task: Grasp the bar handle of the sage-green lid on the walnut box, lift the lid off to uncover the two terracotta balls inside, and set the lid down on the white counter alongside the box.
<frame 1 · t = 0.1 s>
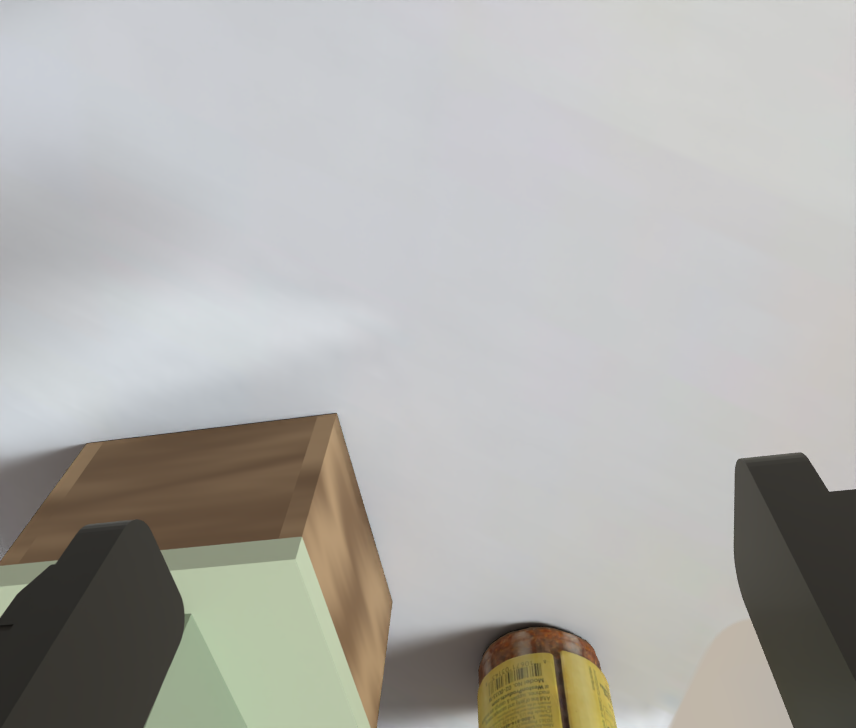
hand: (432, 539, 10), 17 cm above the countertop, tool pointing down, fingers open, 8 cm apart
lid: (199, 659, 28), point 7 cm above the countertop, touching box
sauce bottle: (543, 658, 38), on the countertop
box: (248, 527, 34), on the countertop
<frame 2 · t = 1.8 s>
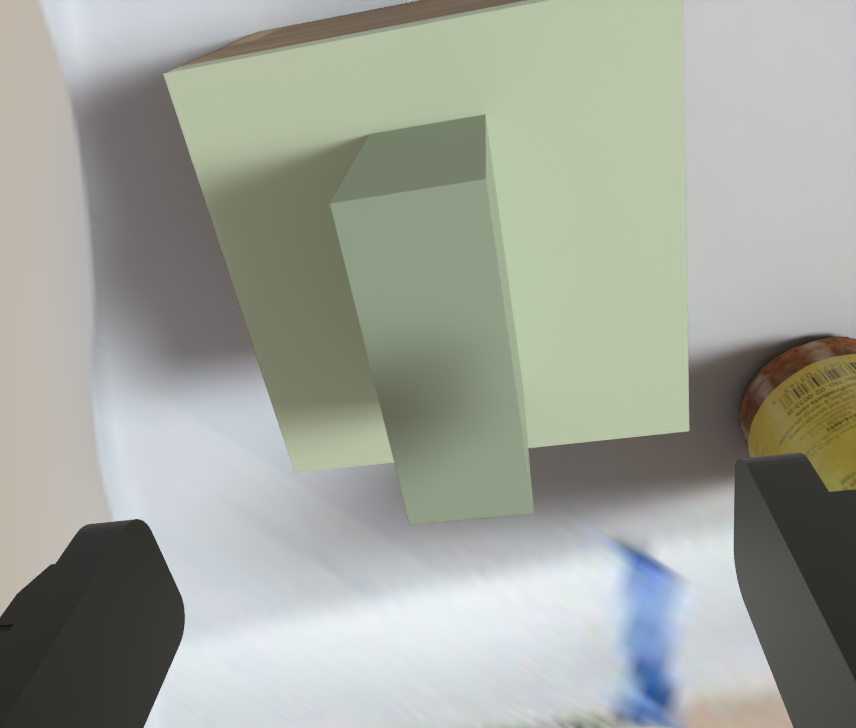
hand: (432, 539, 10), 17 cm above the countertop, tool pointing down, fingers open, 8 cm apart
lid: (454, 255, 19), point 7 cm above the countertop, touching box
sauce bottle: (820, 398, 29), on the countertop
box: (461, 177, 25), on the countertop
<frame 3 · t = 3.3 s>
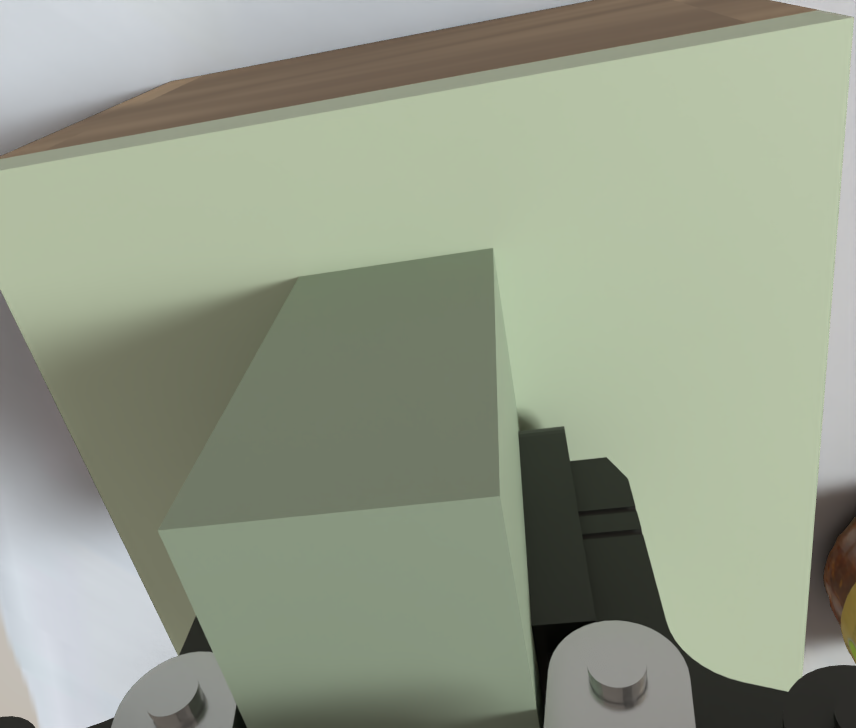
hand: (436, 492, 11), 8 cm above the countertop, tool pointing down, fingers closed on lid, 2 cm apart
lid: (443, 438, 12), point 7 cm above the countertop, touching box, gripper
box: (456, 275, 19), on the countertop
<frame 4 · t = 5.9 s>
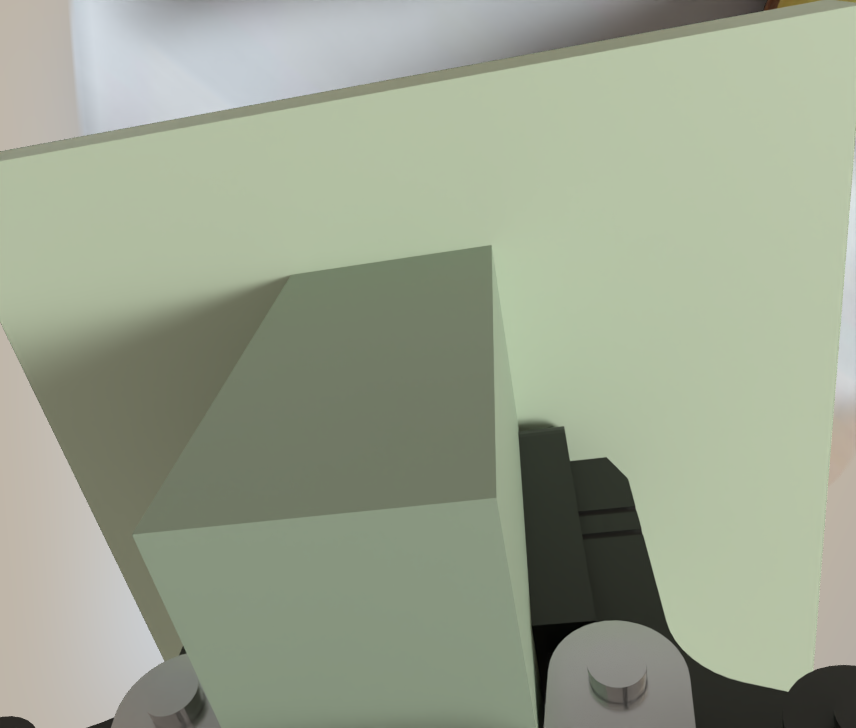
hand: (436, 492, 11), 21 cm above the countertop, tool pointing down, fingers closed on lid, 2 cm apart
lid: (440, 443, 12), point 20 cm above the countertop, touching gripper
sauce bottle: (846, 15, 27), on the countertop
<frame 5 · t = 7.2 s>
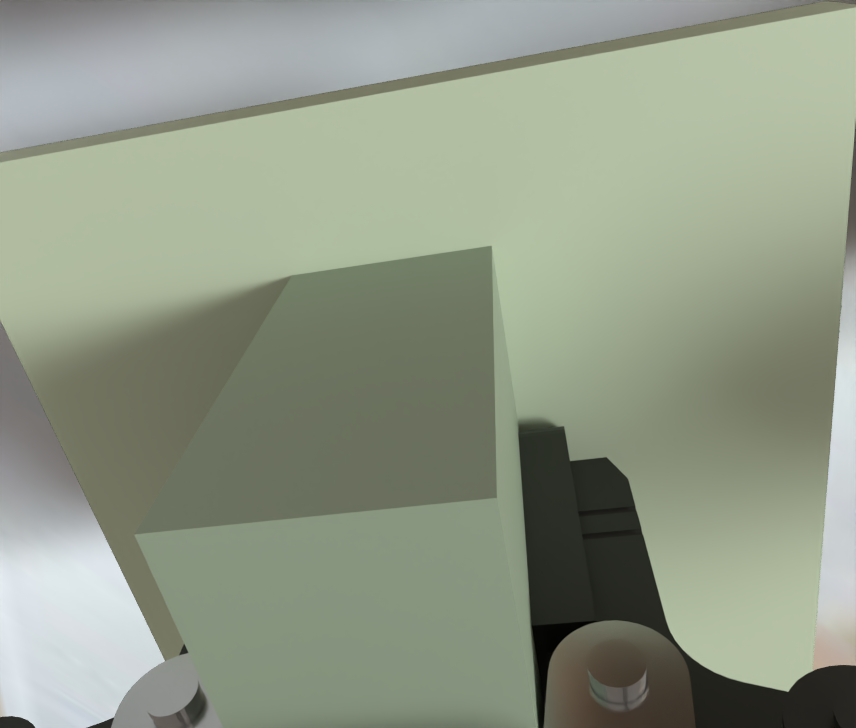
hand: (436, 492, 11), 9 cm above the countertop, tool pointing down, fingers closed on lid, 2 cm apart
lid: (441, 443, 12), point 8 cm above the countertop, touching gripper
when the fingers open (4 cm above the countertop, at t = 8.3 s): lid drops 2 cm, point 1 cm above the countertop.
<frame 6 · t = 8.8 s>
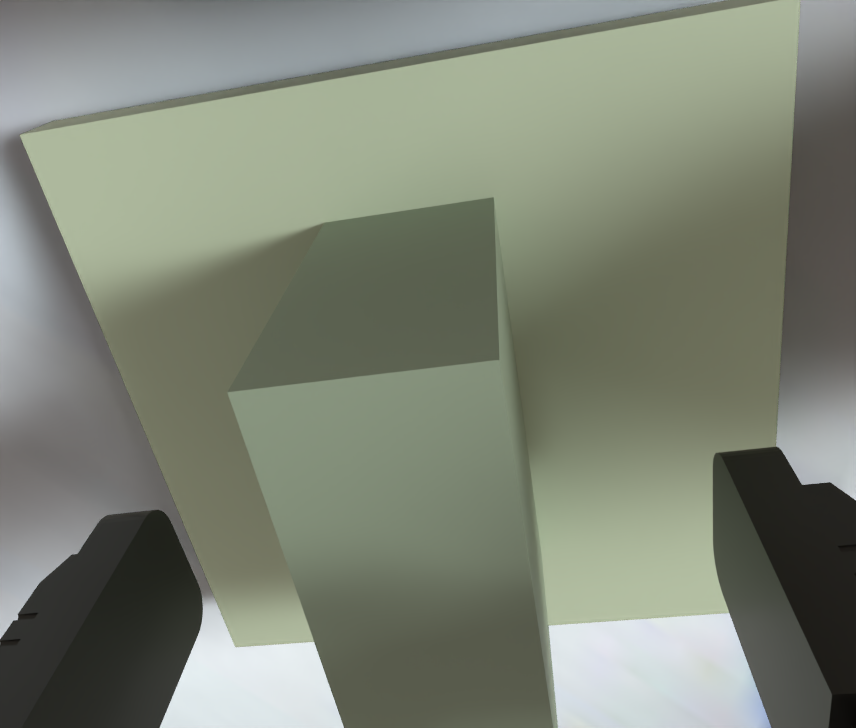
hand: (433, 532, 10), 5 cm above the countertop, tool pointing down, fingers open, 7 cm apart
lid: (447, 376, 14), point 1 cm above the countertop
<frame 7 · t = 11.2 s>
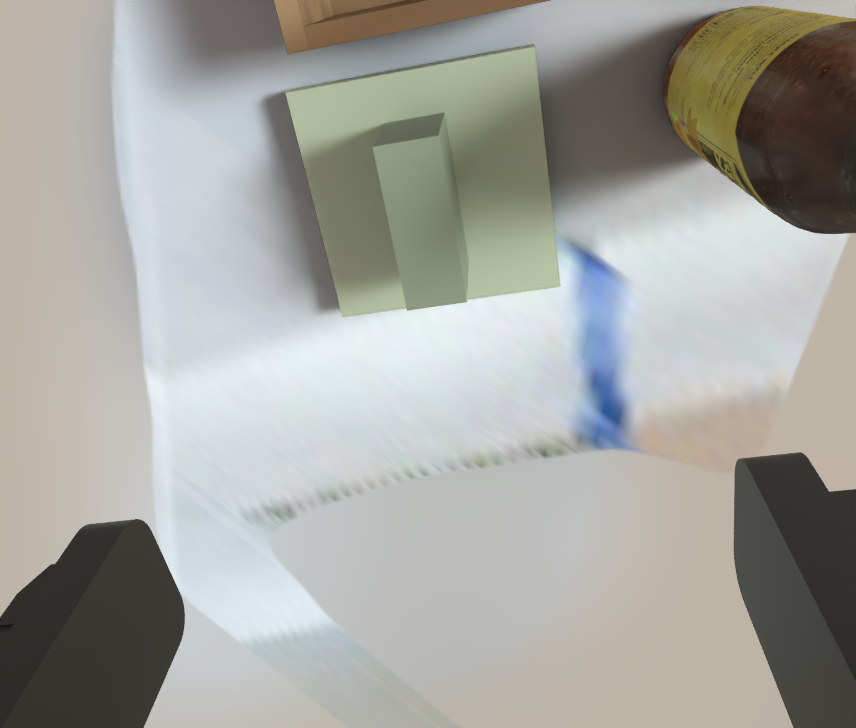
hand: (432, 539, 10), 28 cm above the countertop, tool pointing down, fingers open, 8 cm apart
lid: (431, 188, 36), point 1 cm above the countertop
sauce bottle: (732, 80, 34), on the countertop
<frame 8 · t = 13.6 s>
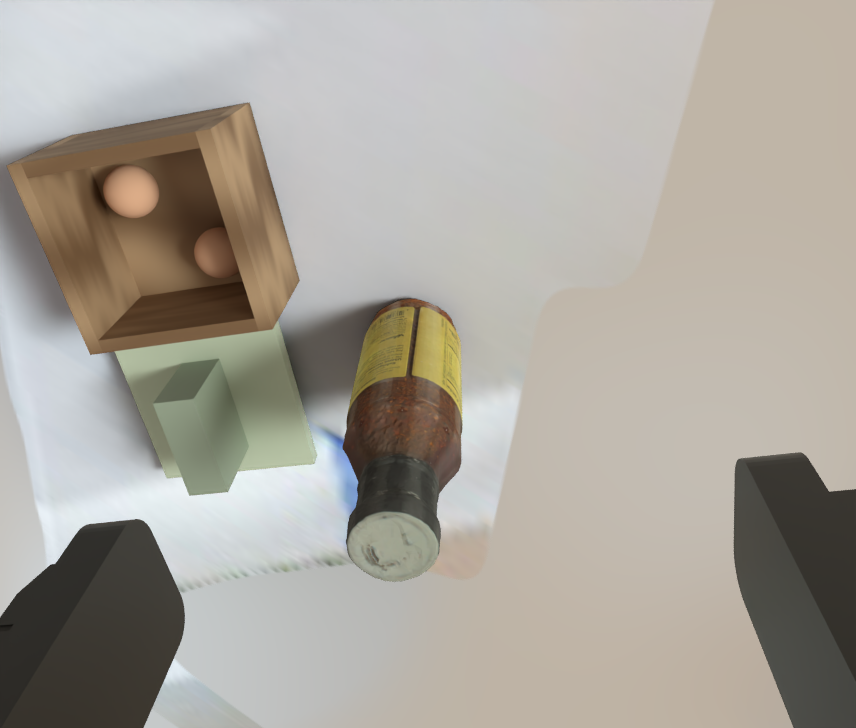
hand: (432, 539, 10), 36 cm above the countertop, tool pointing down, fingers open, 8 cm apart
lid: (221, 398, 52), point 1 cm above the countertop
ball a: (141, 184, 45), point 1 cm above the countertop, touching box
ball b: (228, 244, 46), point 1 cm above the countertop, touching box
sauce bottle: (417, 336, 50), on the countertop
box: (190, 210, 46), on the countertop
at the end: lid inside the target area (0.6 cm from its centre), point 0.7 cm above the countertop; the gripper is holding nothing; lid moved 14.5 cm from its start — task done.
